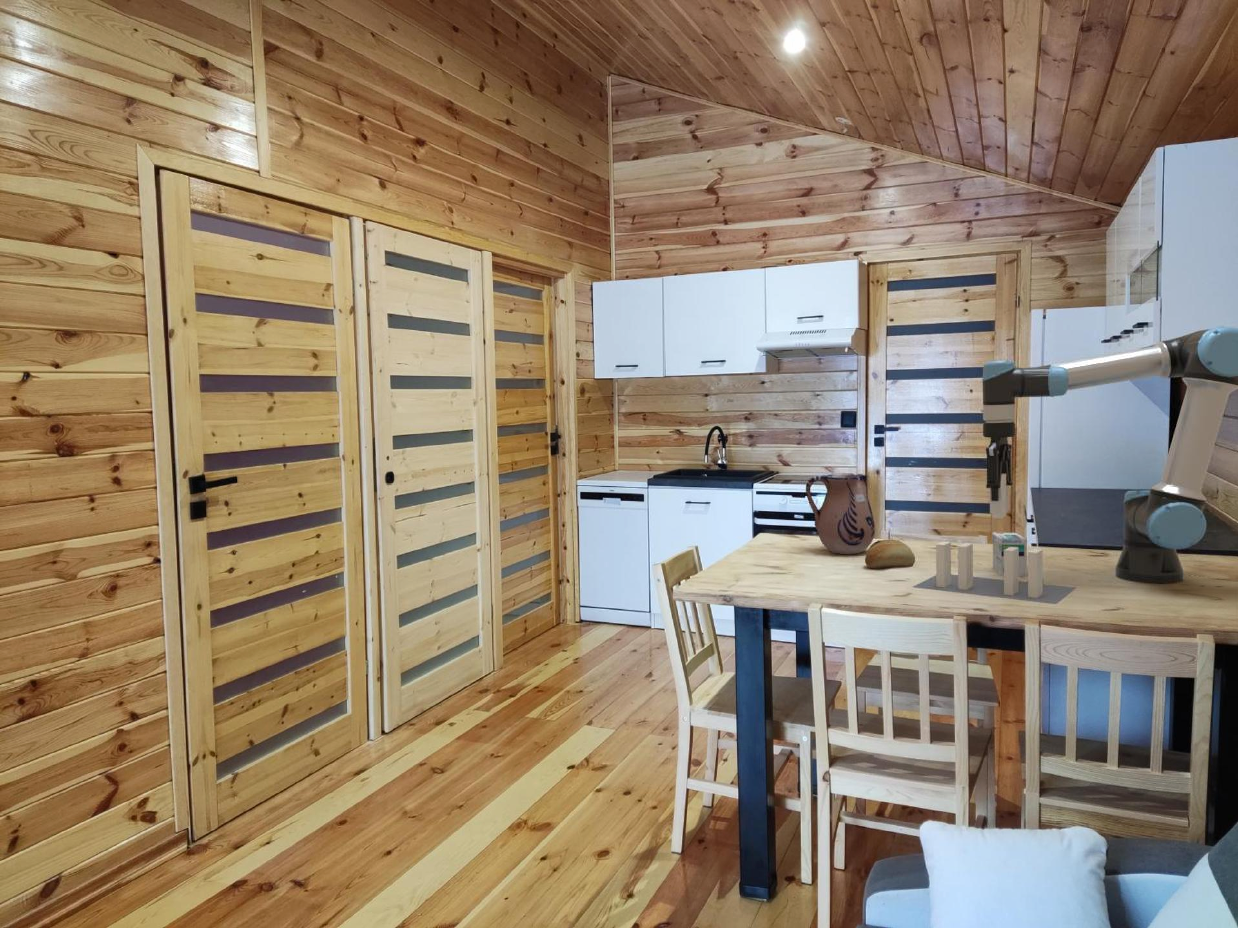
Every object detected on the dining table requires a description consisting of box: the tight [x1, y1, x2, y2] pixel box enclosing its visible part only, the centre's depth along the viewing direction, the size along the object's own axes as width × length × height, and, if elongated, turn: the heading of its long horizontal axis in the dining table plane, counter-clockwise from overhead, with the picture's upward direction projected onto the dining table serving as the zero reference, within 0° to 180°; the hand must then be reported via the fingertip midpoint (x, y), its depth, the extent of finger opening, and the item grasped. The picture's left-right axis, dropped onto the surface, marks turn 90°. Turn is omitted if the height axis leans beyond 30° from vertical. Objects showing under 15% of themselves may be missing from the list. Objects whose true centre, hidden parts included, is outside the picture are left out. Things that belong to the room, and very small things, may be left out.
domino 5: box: [1027, 548, 1044, 598], centre depth 206 cm, size 2×5×11 cm, turn 140°
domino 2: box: [957, 542, 974, 590], centre depth 216 cm, size 2×5×11 cm, turn 139°
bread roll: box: [864, 539, 916, 569], centre depth 248 cm, size 10×15×8 cm, turn 100°
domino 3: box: [991, 473, 1007, 519], centre depth 218 cm, size 2×5×11 cm, turn 140°
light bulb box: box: [992, 532, 1028, 577], centre depth 233 cm, size 11×7×11 cm, turn 168°
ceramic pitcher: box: [805, 472, 876, 555], centre depth 272 cm, size 18×21×25 cm
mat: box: [912, 573, 1077, 605], centre depth 216 cm, size 34×20×1 cm, turn 50°
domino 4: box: [1003, 547, 1020, 595], centre depth 209 cm, size 2×5×11 cm, turn 140°
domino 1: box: [935, 541, 952, 587], centre depth 220 cm, size 2×5×11 cm, turn 140°
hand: (999, 511), depth 219 cm, fingers closed on domino 3, 5 cm apart
